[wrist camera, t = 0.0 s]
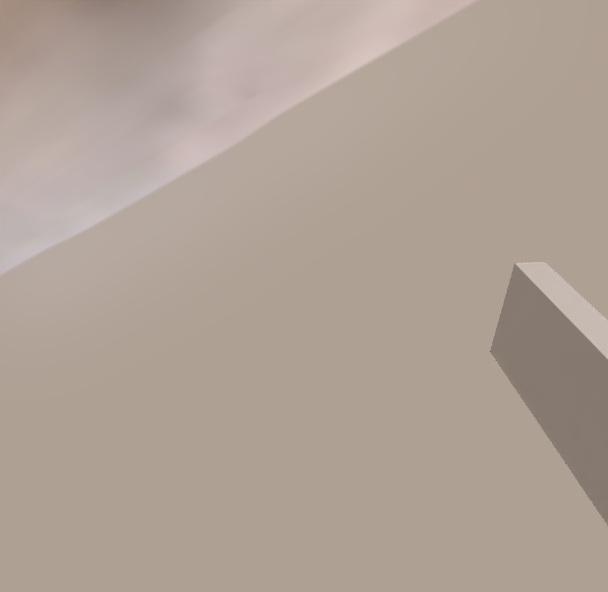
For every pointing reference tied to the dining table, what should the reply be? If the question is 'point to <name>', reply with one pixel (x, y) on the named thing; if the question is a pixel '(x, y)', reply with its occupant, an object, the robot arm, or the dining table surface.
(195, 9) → the dining table surface
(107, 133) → the dining table surface
